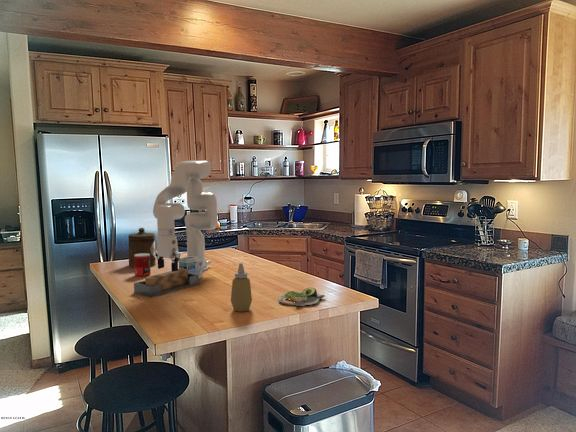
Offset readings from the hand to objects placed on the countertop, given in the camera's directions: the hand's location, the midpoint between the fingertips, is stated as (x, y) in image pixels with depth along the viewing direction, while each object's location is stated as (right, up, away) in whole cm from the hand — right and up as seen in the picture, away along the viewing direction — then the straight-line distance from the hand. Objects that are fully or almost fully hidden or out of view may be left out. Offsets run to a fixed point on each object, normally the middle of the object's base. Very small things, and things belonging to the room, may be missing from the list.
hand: (167, 269), depth 195 cm
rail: (0, -8, 0) cm, 8 cm away
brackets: (0, -9, 0) cm, 9 cm away
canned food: (-21, -7, +27) cm, 35 cm away
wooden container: (-30, -5, +54) cm, 62 cm away
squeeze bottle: (+37, -12, -32) cm, 50 cm away
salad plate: (+60, -11, -19) cm, 64 cm away
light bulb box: (+6, -7, +20) cm, 22 cm away
